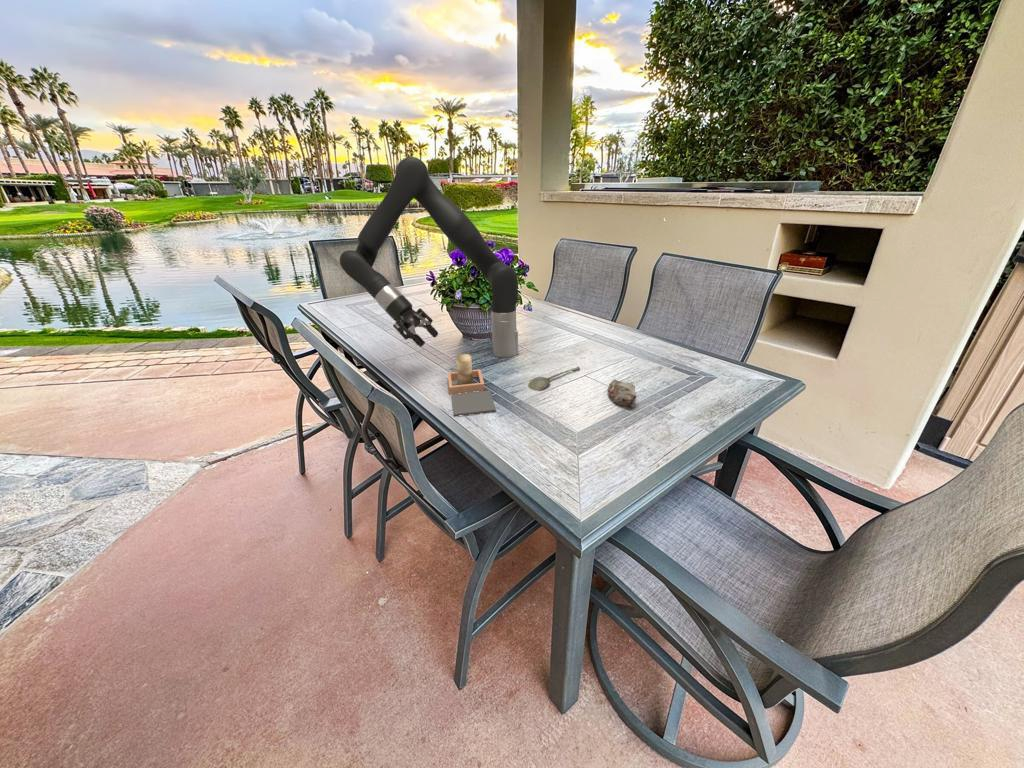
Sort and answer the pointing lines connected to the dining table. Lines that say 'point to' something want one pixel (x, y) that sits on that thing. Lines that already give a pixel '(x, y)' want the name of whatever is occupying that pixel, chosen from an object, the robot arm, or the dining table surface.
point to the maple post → (464, 369)
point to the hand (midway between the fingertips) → (430, 340)
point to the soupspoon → (545, 381)
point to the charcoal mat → (473, 403)
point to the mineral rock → (622, 392)
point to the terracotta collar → (466, 387)
